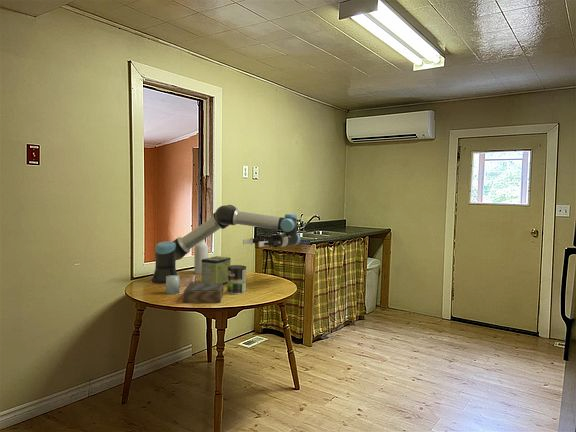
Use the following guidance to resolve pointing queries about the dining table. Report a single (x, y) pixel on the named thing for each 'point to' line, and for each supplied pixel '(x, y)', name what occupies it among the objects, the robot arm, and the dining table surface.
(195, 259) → the alcohol
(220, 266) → the protein box
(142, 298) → the dining table surface
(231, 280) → the coffee can
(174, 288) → the pale glossy cylinder
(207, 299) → the podium
